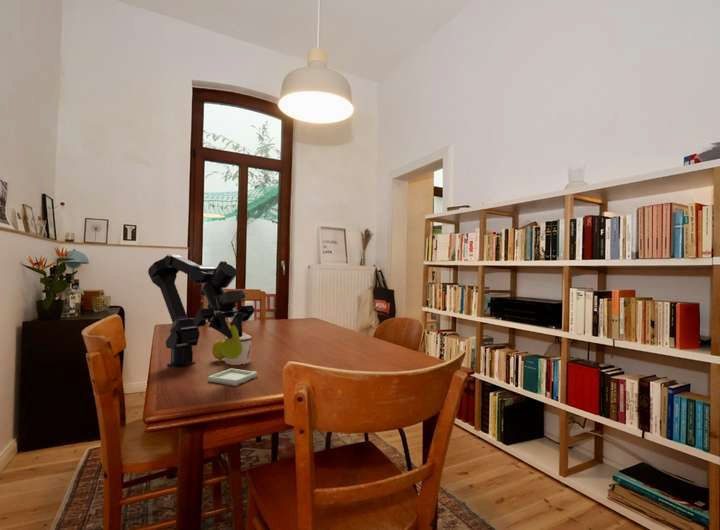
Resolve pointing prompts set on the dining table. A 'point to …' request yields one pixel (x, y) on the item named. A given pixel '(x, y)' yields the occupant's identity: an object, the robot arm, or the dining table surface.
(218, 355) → the lemon
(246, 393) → the dining table surface
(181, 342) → the robot arm
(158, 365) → the dining table surface
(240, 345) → the fruit
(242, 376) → the tray
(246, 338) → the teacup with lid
